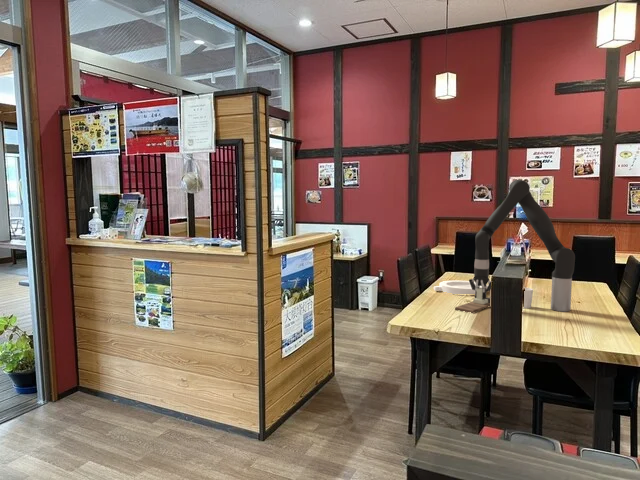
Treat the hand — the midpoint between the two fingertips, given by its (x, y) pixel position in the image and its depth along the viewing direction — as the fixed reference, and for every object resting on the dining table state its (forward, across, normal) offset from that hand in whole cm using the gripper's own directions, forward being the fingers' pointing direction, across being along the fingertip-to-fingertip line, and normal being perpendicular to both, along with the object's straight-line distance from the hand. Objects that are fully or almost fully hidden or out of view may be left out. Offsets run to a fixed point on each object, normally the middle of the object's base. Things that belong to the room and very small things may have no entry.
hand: (480, 298), depth 244 cm
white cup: (+4, -18, -14) cm, 23 cm away
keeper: (+3, 0, 0) cm, 3 cm away
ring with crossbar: (+5, +27, -29) cm, 40 cm away
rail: (+4, 0, +7) cm, 8 cm away
